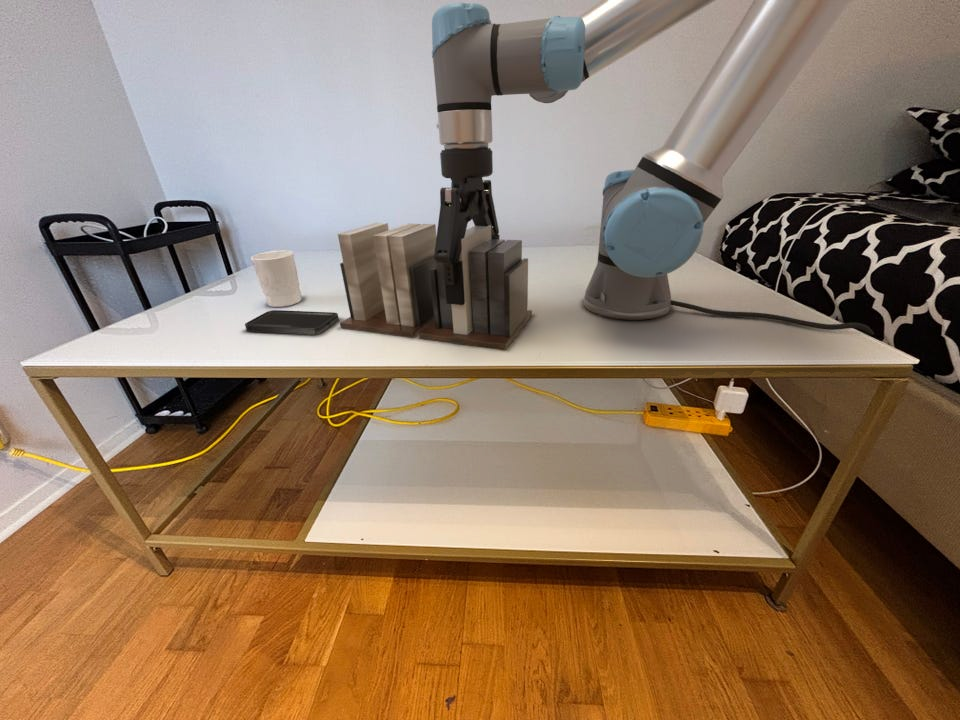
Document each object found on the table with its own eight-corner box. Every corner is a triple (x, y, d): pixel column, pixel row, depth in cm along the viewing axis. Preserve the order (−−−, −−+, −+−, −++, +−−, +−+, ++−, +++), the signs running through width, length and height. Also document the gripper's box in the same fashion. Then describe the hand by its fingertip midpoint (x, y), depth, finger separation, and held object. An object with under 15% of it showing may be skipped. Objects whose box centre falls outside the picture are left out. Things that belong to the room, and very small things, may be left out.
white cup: (286, 309, 83) (273, 260, 79) (256, 306, 86) (241, 258, 81) (312, 297, 90) (301, 251, 85) (283, 294, 92) (271, 249, 88)
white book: (493, 309, 75) (491, 224, 69) (467, 335, 66) (461, 239, 59) (480, 308, 76) (477, 224, 69) (453, 333, 67) (446, 238, 60)
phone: (270, 309, 80) (340, 312, 77) (271, 315, 80) (341, 318, 77) (241, 325, 73) (316, 329, 70) (243, 331, 73) (318, 335, 70)
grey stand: (531, 315, 75) (533, 236, 68) (505, 350, 63) (504, 258, 56) (457, 307, 80) (451, 234, 74) (419, 338, 68) (408, 253, 61)
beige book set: (452, 307, 80) (445, 222, 73) (413, 337, 68) (401, 239, 61) (387, 300, 86) (375, 220, 78) (340, 328, 73) (320, 236, 66)
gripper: (475, 146, 70) (479, 269, 80) (396, 149, 50) (415, 314, 60) (517, 144, 68) (516, 271, 77) (452, 147, 47) (462, 319, 57)
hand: (472, 290), depth 69 cm, fingers open, 13 cm apart
